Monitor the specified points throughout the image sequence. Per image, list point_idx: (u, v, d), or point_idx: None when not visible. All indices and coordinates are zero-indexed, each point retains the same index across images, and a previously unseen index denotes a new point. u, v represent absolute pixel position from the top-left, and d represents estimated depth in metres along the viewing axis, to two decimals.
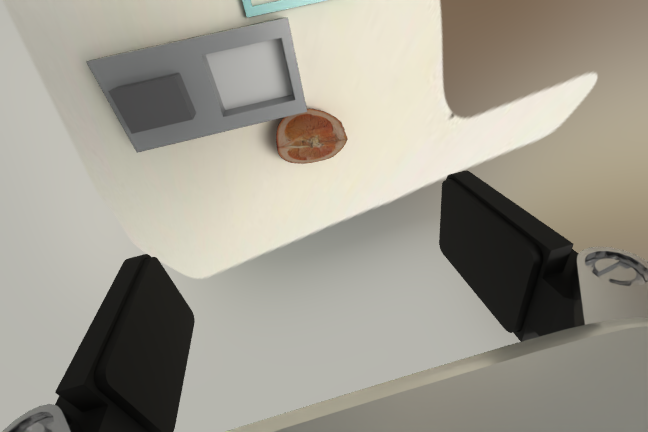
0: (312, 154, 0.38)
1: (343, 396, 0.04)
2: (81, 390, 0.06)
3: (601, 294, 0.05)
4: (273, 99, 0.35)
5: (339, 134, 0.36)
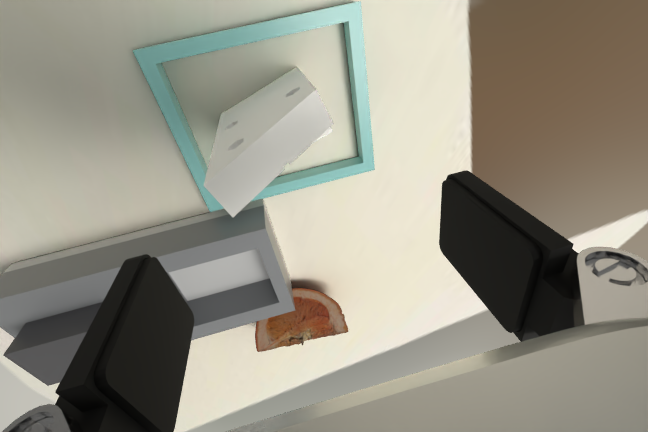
0: None
1: (343, 396, 0.04)
2: (81, 390, 0.06)
3: (601, 294, 0.05)
4: (251, 286, 0.27)
5: (337, 325, 0.28)
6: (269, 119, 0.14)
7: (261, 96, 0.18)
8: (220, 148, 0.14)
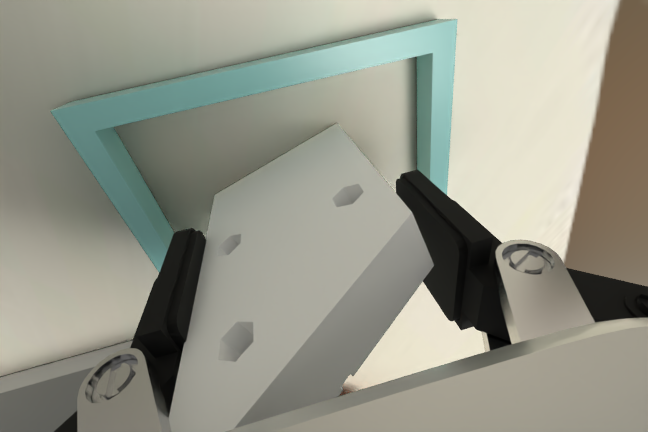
0: None
1: (343, 396, 0.04)
2: (157, 336, 0.06)
3: (521, 286, 0.06)
4: None
5: None
6: (309, 277, 0.06)
7: (281, 179, 0.11)
8: (204, 329, 0.07)
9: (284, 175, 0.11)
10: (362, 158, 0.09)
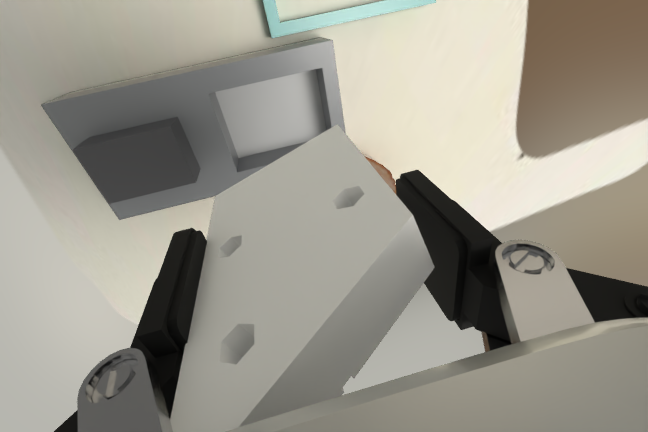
0: None
1: (343, 396, 0.04)
2: (157, 336, 0.06)
3: (521, 286, 0.06)
4: (302, 143, 0.27)
5: None
6: (310, 279, 0.06)
7: (282, 180, 0.11)
8: (205, 331, 0.07)
9: (285, 177, 0.11)
10: (363, 160, 0.09)
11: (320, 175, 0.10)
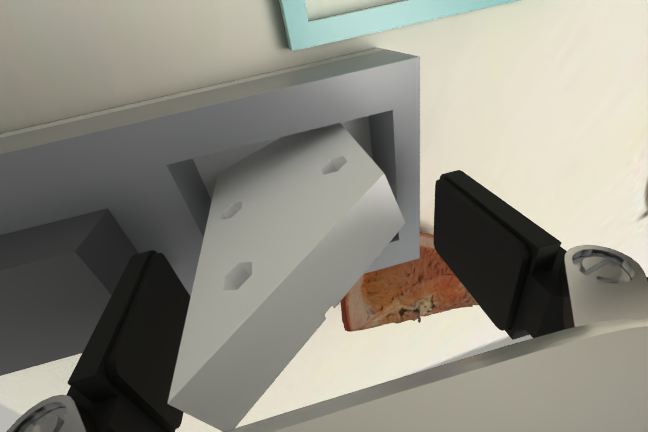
0: None
1: (343, 396, 0.04)
2: (92, 381, 0.06)
3: (589, 292, 0.06)
4: None
5: None
6: (299, 226, 0.08)
7: (278, 157, 0.12)
8: (210, 271, 0.08)
9: (280, 154, 0.12)
10: (348, 136, 0.10)
11: (311, 150, 0.11)
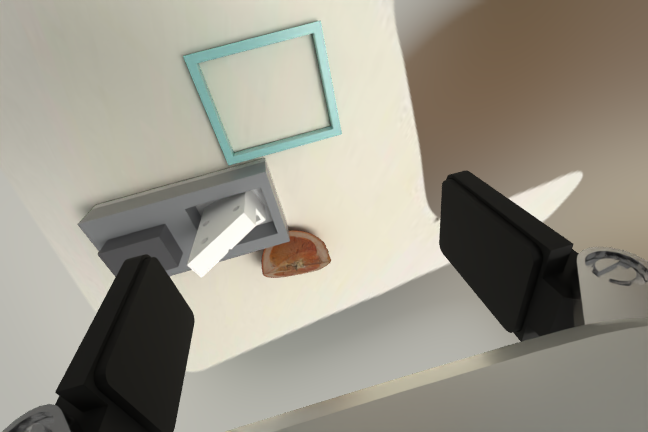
0: (298, 271, 0.39)
1: (343, 396, 0.04)
2: (81, 390, 0.06)
3: (601, 294, 0.05)
4: (258, 226, 0.37)
5: (323, 256, 0.37)
6: (221, 227, 0.28)
7: (224, 203, 0.33)
8: (197, 241, 0.29)
9: (225, 202, 0.33)
10: (244, 197, 0.31)
11: (233, 202, 0.32)
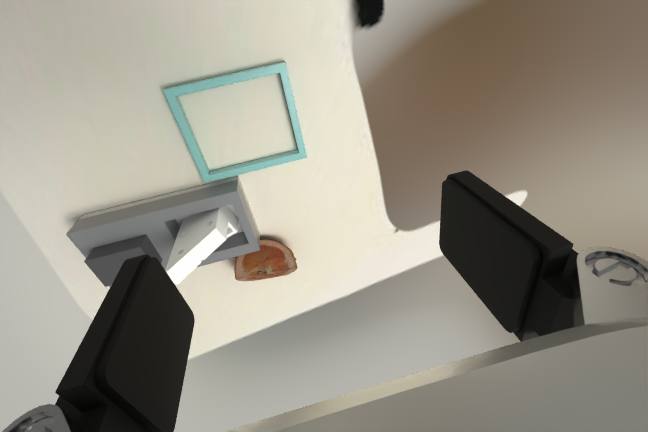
0: (268, 276, 0.43)
1: (343, 396, 0.04)
2: (81, 390, 0.06)
3: (601, 294, 0.05)
4: (232, 235, 0.41)
5: (290, 263, 0.42)
6: (195, 240, 0.32)
7: (200, 216, 0.37)
8: (174, 251, 0.33)
9: (201, 215, 0.37)
10: (217, 213, 0.35)
11: (208, 216, 0.36)
